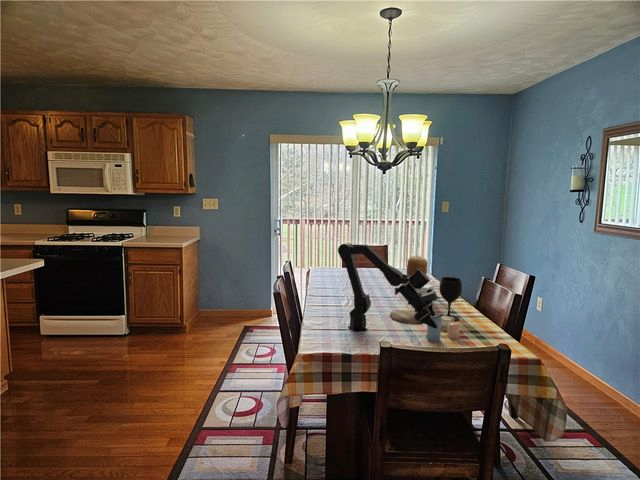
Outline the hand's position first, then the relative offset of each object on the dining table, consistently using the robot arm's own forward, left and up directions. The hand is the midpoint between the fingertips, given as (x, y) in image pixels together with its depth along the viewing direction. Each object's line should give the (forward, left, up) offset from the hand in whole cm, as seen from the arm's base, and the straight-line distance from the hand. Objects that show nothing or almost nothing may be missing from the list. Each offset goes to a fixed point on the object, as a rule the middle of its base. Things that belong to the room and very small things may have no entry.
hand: (437, 324), depth 162 cm
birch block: (+15, +9, -7) cm, 19 cm away
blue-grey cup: (-1, +1, -7) cm, 7 cm away
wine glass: (+27, +19, -7) cm, 34 cm away
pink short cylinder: (+9, -1, -7) cm, 11 cm away
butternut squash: (+37, +55, -7) cm, 67 cm away
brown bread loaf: (+9, +28, -7) cm, 31 cm away
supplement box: (+27, +37, -7) cm, 47 cm away
